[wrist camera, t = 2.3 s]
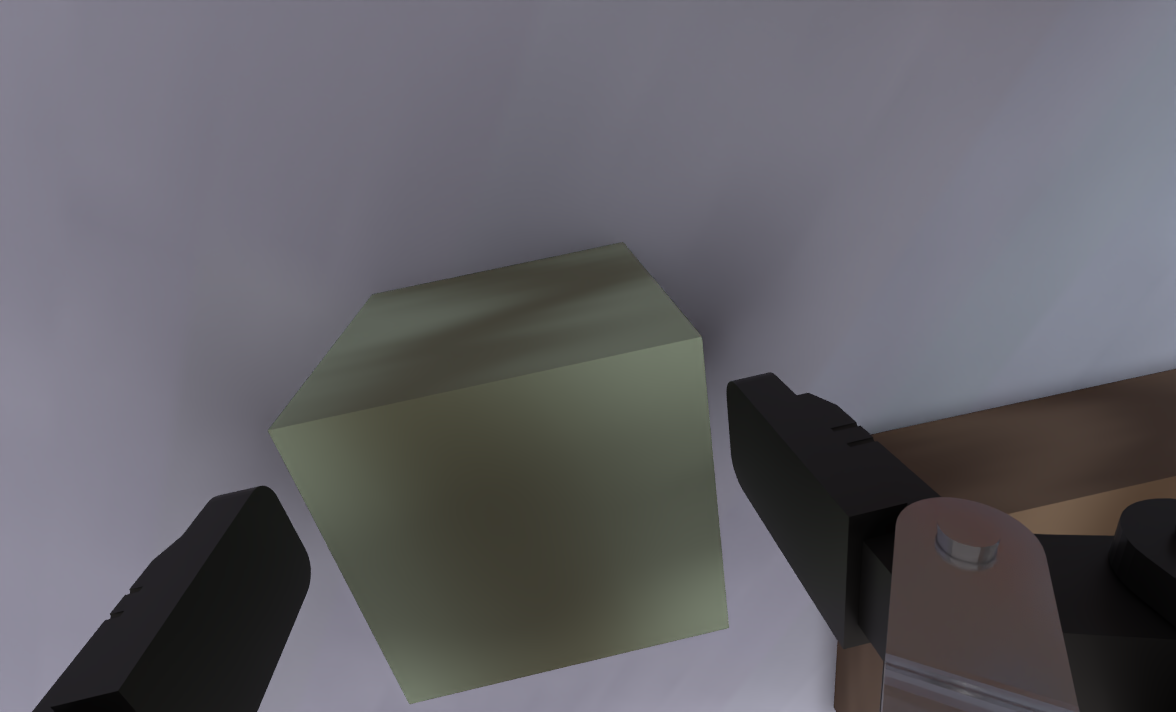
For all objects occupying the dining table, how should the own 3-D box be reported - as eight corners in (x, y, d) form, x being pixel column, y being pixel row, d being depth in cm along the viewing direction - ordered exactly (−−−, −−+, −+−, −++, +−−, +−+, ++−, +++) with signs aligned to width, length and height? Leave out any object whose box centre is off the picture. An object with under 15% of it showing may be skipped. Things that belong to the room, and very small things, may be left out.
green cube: (622, 241, 12) (701, 337, 7) (653, 446, 14) (728, 628, 9) (372, 293, 12) (267, 430, 7) (446, 492, 14) (409, 703, 9)
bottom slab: (1230, 345, 16) (1444, 415, 12) (1122, 623, 21) (1250, 730, 17) (839, 430, 15) (941, 529, 12) (826, 694, 20) (894, 820, 17)
